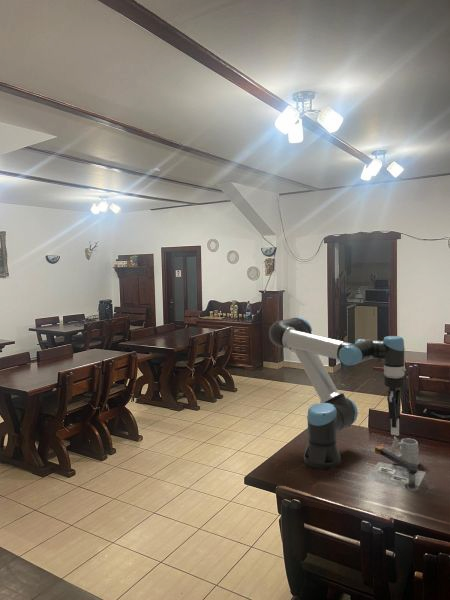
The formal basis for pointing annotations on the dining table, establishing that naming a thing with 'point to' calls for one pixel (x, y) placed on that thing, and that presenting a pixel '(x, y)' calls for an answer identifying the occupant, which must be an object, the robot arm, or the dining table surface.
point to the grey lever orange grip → (396, 459)
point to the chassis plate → (399, 472)
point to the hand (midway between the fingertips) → (395, 434)
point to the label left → (386, 471)
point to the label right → (400, 479)
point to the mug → (407, 450)
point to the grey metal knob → (412, 483)
